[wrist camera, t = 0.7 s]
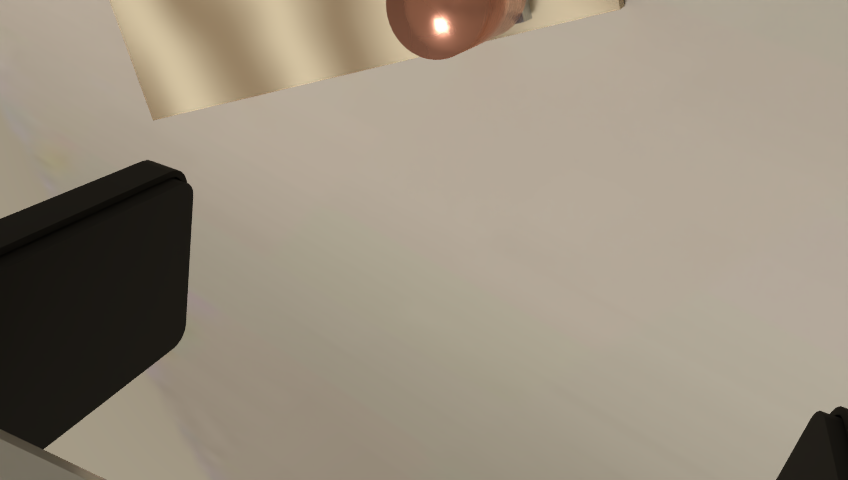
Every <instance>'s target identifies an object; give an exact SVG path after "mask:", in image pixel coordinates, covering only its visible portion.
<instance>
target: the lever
mask: <svg viewBox="0 0 848 480" xmlns="http://www.w3.org/2000/svg"><path fill="white" fill-rule="evenodd" d="M386 12H387V17H388V21H389V24H390V26H391V29H392V31H393V33H394V34H395V36H396V38H397V39H398V40H399V42H400V43H401V44H402V45H403V46H404V47H405V48H406V49H408V50H409V51H410V52H412V53H414V54H415V55H418V56H420V57H423V58H426V59H433V60H441V59H447V58H450V57H453V56H455V55H457V54H459V53H462V52H464V51H466V50H468V49H470V48H472V47H475V46H477V45H479V44H481V43H483V42H485V41H488V40H490V39H492V38H494V37H496V36H499V35H501V34H503V33H505V32H506V31H508V30H509V29H510V28H511V27H513V25H514V24H518V23H522V22H525V21H527V20H530V19H532V14H531V9H530V4H529V0H386Z"/></svg>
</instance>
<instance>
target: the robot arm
mask: <svg viewBox="0 0 848 480" xmlns="http://www.w3.org/2000/svg"><path fill="white" fill-rule="evenodd" d="M192 207H193V190H192V187H191V186H190V185H189V184H188V183H187V180H186V178H185V175H184V174H183V173H182V172H181V171H178V170H175V169H173V168H170V167H167V166H164V165H161V164H159V163H156V162H153V161H150V160H146V161H142V162H139V163H137V164H134V165H132V166H129V167H127V168H124V169H122V170H119V171H117V172H115V173H112V174H110V175H107V176H105V177H102V178H100V179H97V180H95V181H92V182H90V183H87V184H85V185H83V186H80V187H78V188H75V189H73V190H70V191H68V192H65V193H63V194H60V195H58V196H55V197H53V198H51V199H48V200H46V201H43V202H41V203H38V204H36V205H33V206H31V207H29V208H26V209H24V210H21V211H19V212H16V213H14V214H11V215H9V216H6V217H4V218H1V219H0V480H106V479H104V478H102V477H100V476H97V475H95V474H93V473H91V472H89V471H87V470H85V469H83V468H81V467H79V466H76V465H74V464H72V463H70V462H68V461H66V460H64V459H62V458H60V457H58V456H55V455H53V454H51V453H49V452H47V451H45V450H43V449H44V448H46V447H47V446H48V445H49V444H51V443H52V442H53V441H55V440H56V439H57V438H58V437H60V436H61V435H62V434H64V433H65V432H66V431H68V430H69V429H70V428H71V427H73V426H74V425H75V424H77V423H78V422H79V421H80V420H82V419H83V418H84V417H85V416H87V415H88V414H90V413H91V412H92V411H93V410H95V409H96V408H97V407H99V406H100V405H101V404H102V403H104V402H105V401H106V400H108V399H109V398H110V397H111V396H113V395H114V394H115V393H116V392H118V391H119V390H120V389H122V388H123V387H124V386H126V385H127V384H128V383H129V382H131V381H132V380H133V379H134V378H136V377H137V376H138V375H140V374H141V373H142V372H144V371H145V370H146V369H147V368H149V367H150V366H151V365H153V364H154V363H155V362H157V361H158V360H159V359H160V358H162V357H163V356H164V355H166V354H167V353H168V352H169V351H171V350H172V349H173V348H174V347H175V346H176V345H177V344H178V343H179V341H180V340H181V338H182V336H183V334H184V331H185V326H186V312H187V294H188V277H189V259H190V242H191V224H192ZM776 480H848V409H847V408H844V407H841V406H840V407H837V408H835V409H834V410H833V411H832V412H831V413H830V414H827V413H825V412H822V411H818V412H816V413H815V414H814V415H813V416H812V418H811V419H810V421H809V423H808V425H807V426H806V428H805V430H804V432H803V433H802V435H801V437H800V439H799V441H798V442H797V444H796V446H795V448H794V449H793V451H792V453H791V455H790V456H789V458H788V460H787V462H786V463H785V465H784V467H783V469H782V471H781V472H780V474H779V476H778V478H777V479H776Z"/></svg>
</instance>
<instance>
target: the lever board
mask: <svg viewBox="0 0 848 480" xmlns="http://www.w3.org/2000/svg"><path fill="white" fill-rule="evenodd" d="M109 1H110V3H111V6H112V9H113V11H114V14H115V17H116V20H117V22H118V25H119V28H120V31H121V33H122V36H123V39H124V42H125V44H126V47H127V50H128V53H129V55H130V58H131V61H132V64H133V66H134V69H135V72H136V75H137V77H138V80H139V83H140V86H141V88H142V91H143V94H144V97H145V99H146V102H147V105H148V108H149V110H150V113H151V116H152V118H153V120H157V119H161V118H165V117H169V116H173V115H178V114H182V113H186V112H190V111H194V110H199V109H203V108H207V107H211V106H216V105H220V104H224V103H228V102H232V101H237V100H241V99H245V98H249V97H253V96H258V95H262V94H266V93H270V92H274V91H279V90H283V89H287V88H291V87H295V86H300V85H304V84H308V83H312V82H316V81H321V80H325V79H329V78H333V77H337V76H342V75H346V74H350V73H354V72H359V71H363V70H367V69H371V68H375V67H380V66H384V65H388V64H392V63H396V62H401V61H405V60H409V59H413V58H417V57H420V56H418V55H415V54H414V53H412V52H410V51H409V50H408V49H406V48H405V47H404V46H403V45H402V44H401V43H400V42H399V40H398V39H397V38H396V36H395V34H394V33H393V31H392V29H391V26H390V24H389V21H388V17H387V12H386V0H109ZM529 4H530V9H531V14H532V19H530V20H527V21H525V22H522V23H518V24H514V25H513V27H511V28H510V29H509V30H508V31H506V32H505V33H503V34H501V35H499V36H496V37H494V38H492V39H490V40H493V39H497V38H502V37H506V36H510V35H514V34H518V33H523V32H527V31H531V30H535V29H539V28H544V27H548V26H552V25H556V24H560V23H565V22H569V21H573V20H577V19H581V18H586V17H590V16H594V15H598V14H602V13H607V12H611V11H615V10H619V9H621V8H622V7H624V0H529ZM488 41H489V40H488Z"/></svg>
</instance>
